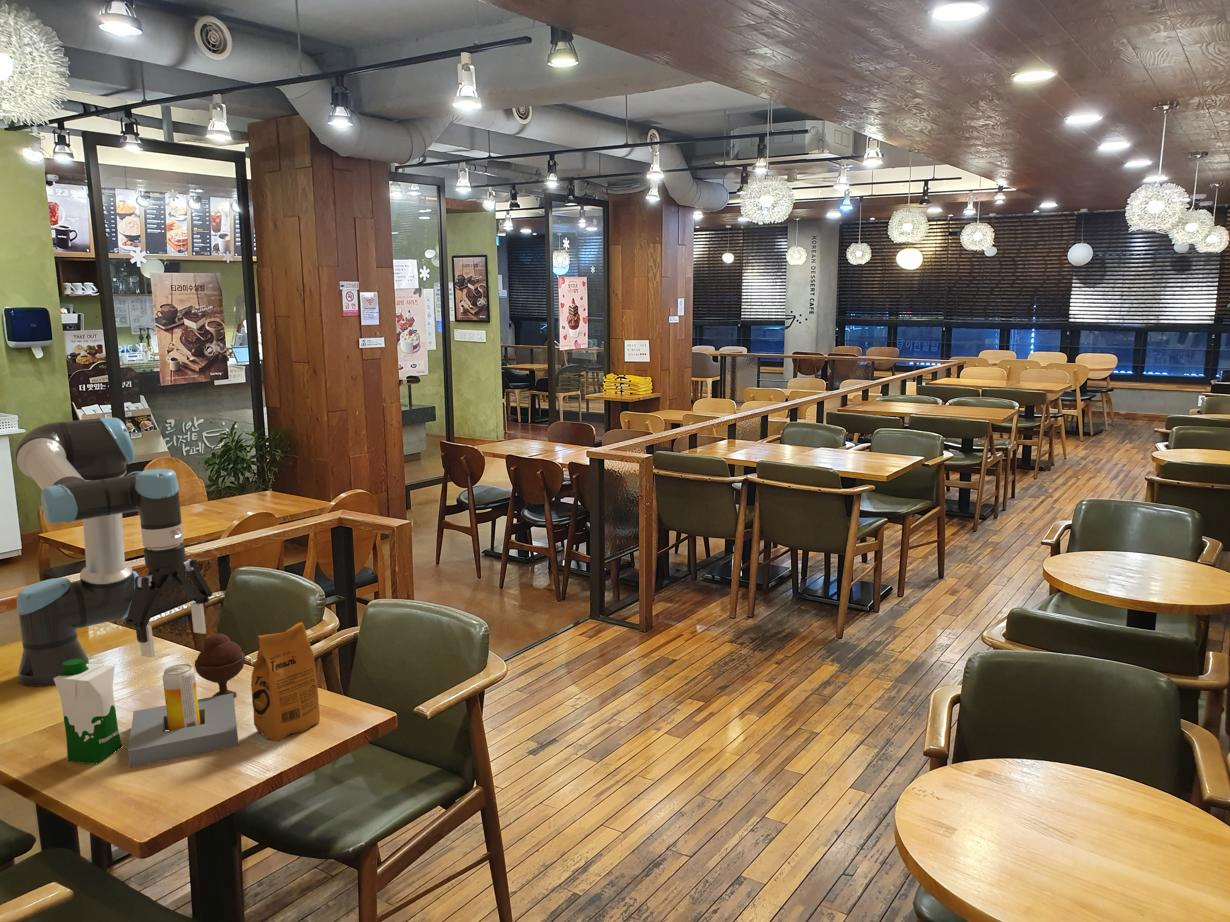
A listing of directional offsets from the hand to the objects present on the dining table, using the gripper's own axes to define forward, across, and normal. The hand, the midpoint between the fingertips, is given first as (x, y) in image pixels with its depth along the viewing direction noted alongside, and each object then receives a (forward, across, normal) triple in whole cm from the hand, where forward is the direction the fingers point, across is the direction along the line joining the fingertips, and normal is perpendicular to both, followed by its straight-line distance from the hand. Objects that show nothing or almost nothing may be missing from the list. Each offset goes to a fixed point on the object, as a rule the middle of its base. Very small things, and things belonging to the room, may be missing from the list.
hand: (174, 644), depth 193 cm
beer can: (+21, 0, 0) cm, 21 cm away
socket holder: (+20, 0, 0) cm, 20 cm away
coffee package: (+20, +10, -19) cm, 29 cm away
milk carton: (+21, -13, +11) cm, 26 cm away
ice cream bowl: (+21, +18, +6) cm, 28 cm away
